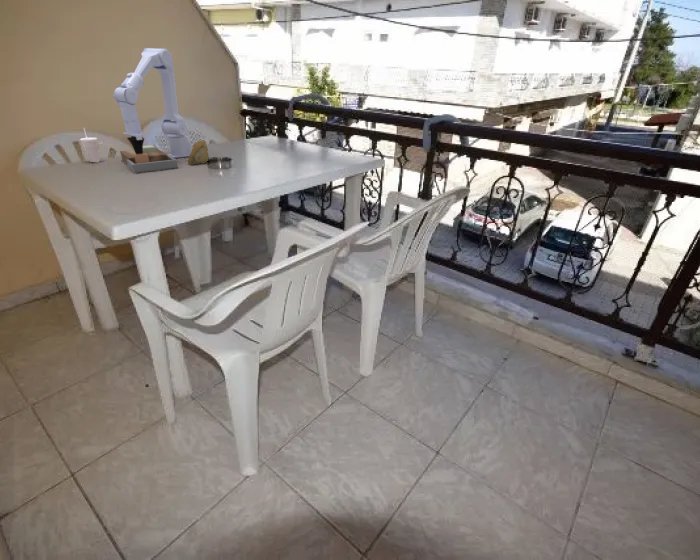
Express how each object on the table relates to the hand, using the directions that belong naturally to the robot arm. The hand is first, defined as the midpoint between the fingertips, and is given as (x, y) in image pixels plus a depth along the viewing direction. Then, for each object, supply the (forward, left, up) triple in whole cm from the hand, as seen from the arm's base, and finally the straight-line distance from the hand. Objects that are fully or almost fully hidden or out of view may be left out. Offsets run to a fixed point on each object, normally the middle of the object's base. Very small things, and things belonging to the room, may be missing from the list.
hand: (139, 155), depth 159 cm
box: (-3, +5, -5) cm, 8 cm away
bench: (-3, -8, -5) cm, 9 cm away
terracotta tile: (0, +1, -2) cm, 2 cm away
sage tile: (-6, -10, -1) cm, 11 cm away
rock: (-23, +5, -5) cm, 24 cm away
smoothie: (+14, -19, -5) cm, 24 cm away
